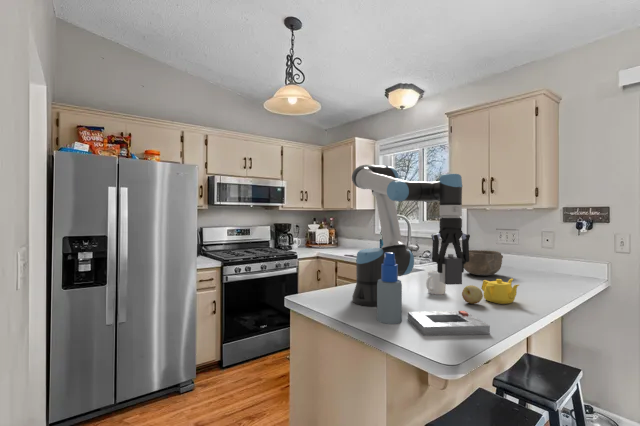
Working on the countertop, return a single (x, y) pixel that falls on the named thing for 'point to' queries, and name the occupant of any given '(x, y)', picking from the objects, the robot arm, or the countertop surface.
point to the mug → (435, 283)
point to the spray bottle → (389, 292)
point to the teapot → (499, 291)
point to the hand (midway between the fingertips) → (450, 281)
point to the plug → (453, 270)
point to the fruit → (472, 294)
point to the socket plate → (448, 323)
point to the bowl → (483, 262)
